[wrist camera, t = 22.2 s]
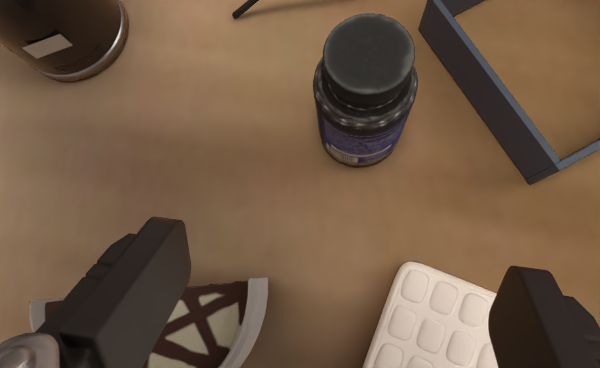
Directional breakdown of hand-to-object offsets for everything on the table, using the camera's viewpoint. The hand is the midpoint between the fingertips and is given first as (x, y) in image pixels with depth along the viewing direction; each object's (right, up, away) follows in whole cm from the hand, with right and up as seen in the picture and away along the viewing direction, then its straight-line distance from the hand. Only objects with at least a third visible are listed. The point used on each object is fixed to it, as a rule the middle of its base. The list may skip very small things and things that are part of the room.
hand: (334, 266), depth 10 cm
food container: (-8, -8, +19) cm, 22 cm away
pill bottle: (+4, +6, +21) cm, 22 cm away
